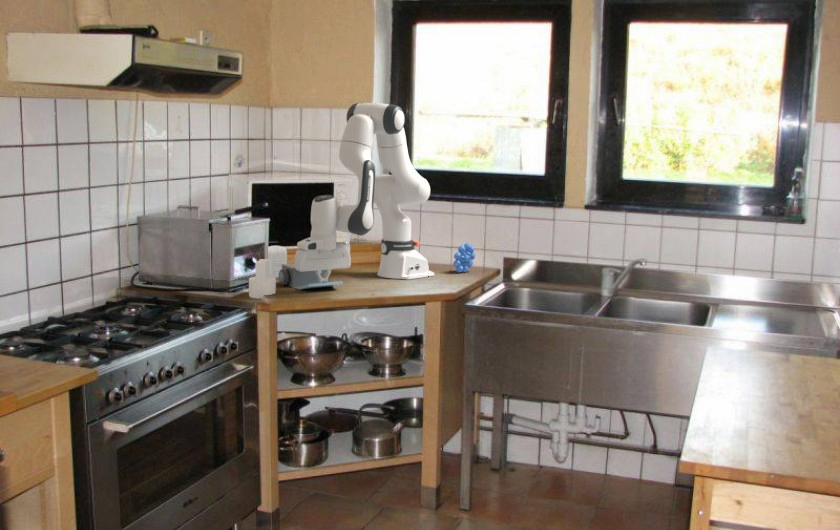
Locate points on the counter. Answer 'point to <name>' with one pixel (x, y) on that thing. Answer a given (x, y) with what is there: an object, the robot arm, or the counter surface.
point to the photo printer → (276, 260)
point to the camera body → (297, 276)
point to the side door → (320, 285)
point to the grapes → (464, 258)
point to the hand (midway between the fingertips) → (322, 282)
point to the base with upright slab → (262, 281)
